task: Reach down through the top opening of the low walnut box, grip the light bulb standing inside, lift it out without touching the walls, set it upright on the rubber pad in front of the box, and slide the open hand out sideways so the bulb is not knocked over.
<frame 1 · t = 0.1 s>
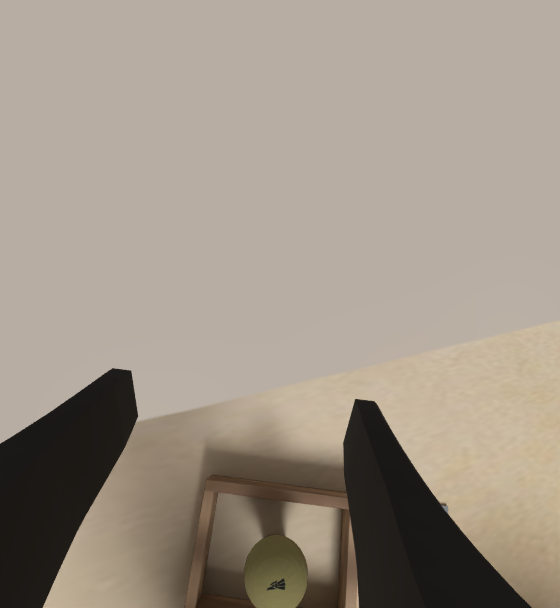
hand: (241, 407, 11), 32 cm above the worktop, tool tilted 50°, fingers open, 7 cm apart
light bulb: (275, 545, 37), resting in walnut box
walnut box: (275, 546, 37), on the worktop
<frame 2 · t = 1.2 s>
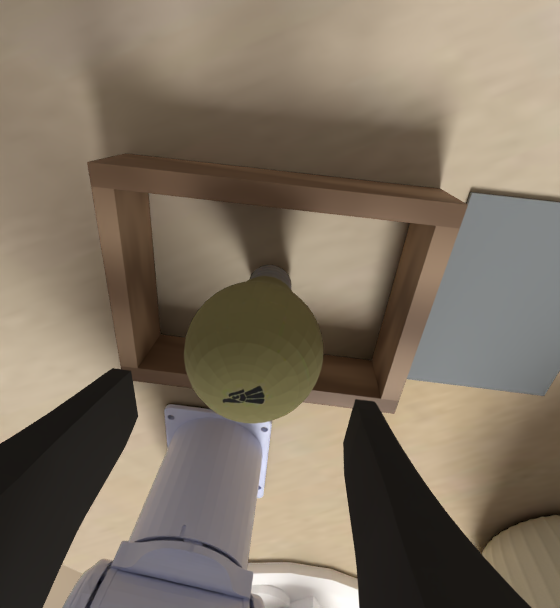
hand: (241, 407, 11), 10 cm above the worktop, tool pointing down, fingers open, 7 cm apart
light bulb: (272, 277, 21), resting in walnut box
canister: (548, 544, 31), on the worktop
walnut box: (271, 278, 20), on the worktop
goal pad: (511, 307, 20), on the worktop
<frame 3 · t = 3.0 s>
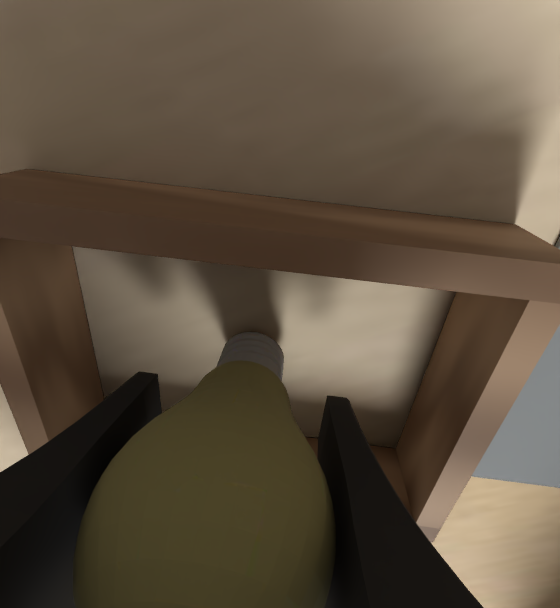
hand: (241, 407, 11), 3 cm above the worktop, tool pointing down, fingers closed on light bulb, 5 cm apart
light bulb: (256, 342, 14), resting in walnut box, touching gripper
walnut box: (255, 345, 14), on the worktop
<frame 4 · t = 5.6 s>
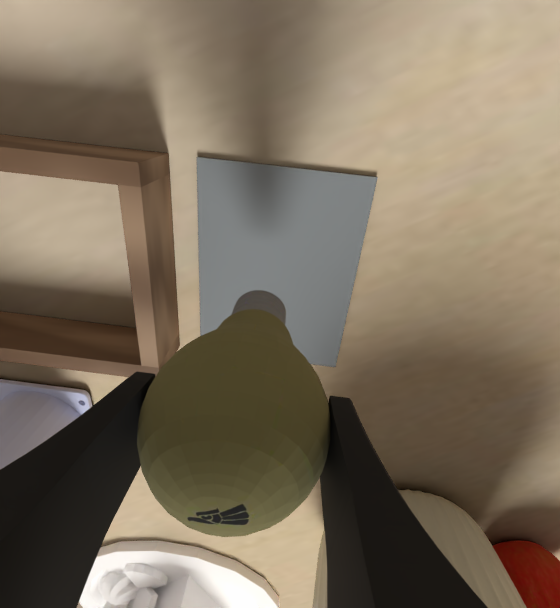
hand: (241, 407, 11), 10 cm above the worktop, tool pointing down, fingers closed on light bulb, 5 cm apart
light bulb: (262, 302, 17), point 4 cm above the worktop, touching gripper
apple: (509, 549, 32), on the worktop
canister: (395, 521, 32), on the worktop
walnut box: (41, 247, 21), on the worktop
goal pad: (276, 275, 20), on the worktop
dish: (179, 591, 43), on the worktop
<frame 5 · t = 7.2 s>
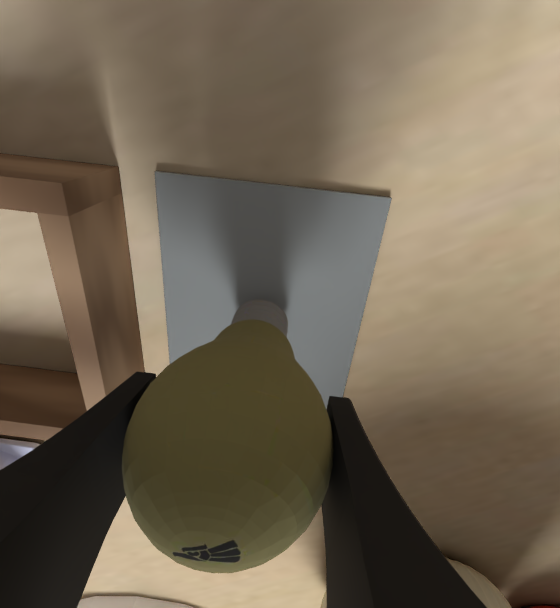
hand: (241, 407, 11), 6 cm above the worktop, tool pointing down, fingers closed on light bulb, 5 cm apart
light bulb: (263, 311, 16), resting on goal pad, touching gripper
canister: (405, 582, 27), on the worktop
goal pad: (262, 317, 16), on the worktop
when the fingers open (6 cm above the worktop, at t = 8.2 s): light bulb stays where it is, resting on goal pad.
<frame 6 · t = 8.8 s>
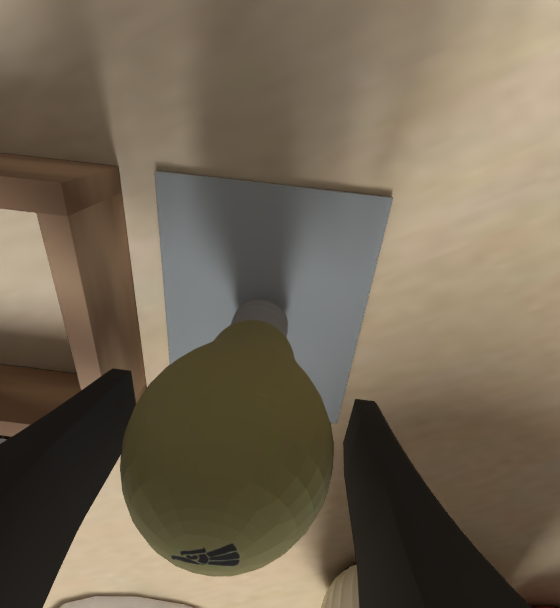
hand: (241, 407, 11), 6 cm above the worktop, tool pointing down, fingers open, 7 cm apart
light bulb: (263, 311, 16), resting on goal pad
canister: (406, 583, 27), on the worktop
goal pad: (262, 317, 16), on the worktop
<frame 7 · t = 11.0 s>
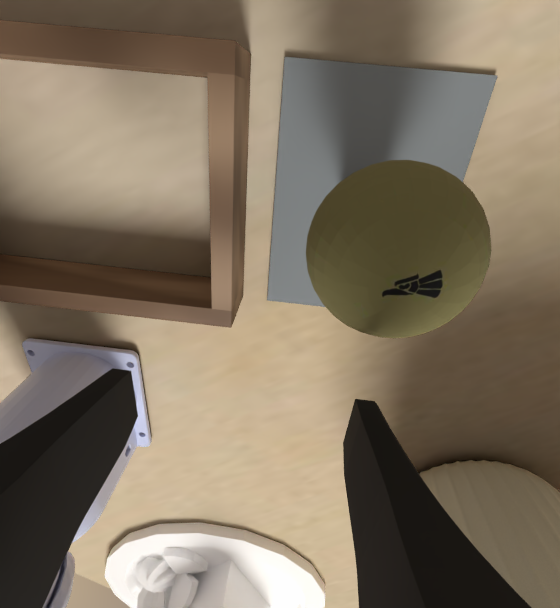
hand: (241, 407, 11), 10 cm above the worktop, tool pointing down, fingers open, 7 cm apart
light bulb: (363, 200, 18), resting on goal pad
canister: (462, 498, 29), on the worktop
walnut box: (96, 179, 18), on the worktop
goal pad: (361, 206, 18), on the worktop
dish: (217, 579, 40), on the worktop
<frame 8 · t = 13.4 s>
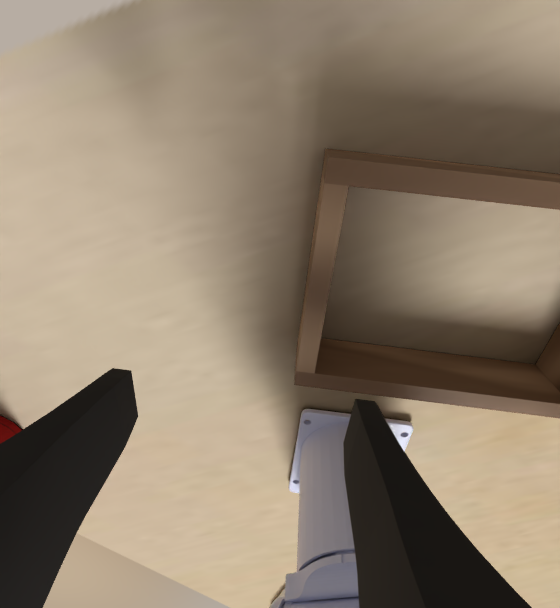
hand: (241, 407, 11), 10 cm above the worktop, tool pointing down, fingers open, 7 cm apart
plastic cup: (1, 433, 30), on the worktop
walnut box: (450, 279, 20), on the worktop
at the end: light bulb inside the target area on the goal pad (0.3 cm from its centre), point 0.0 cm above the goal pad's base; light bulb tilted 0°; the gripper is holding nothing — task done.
